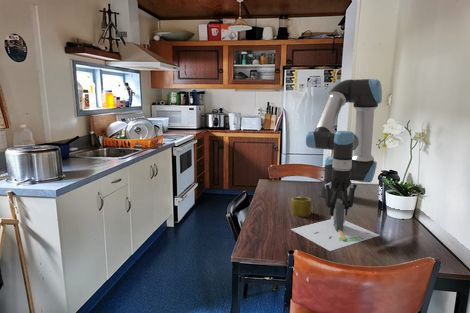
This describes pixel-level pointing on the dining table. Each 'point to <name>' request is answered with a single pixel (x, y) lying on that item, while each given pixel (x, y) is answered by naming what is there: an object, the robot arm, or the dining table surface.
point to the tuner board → (334, 234)
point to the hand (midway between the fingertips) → (337, 222)
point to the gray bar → (339, 217)
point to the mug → (301, 206)
